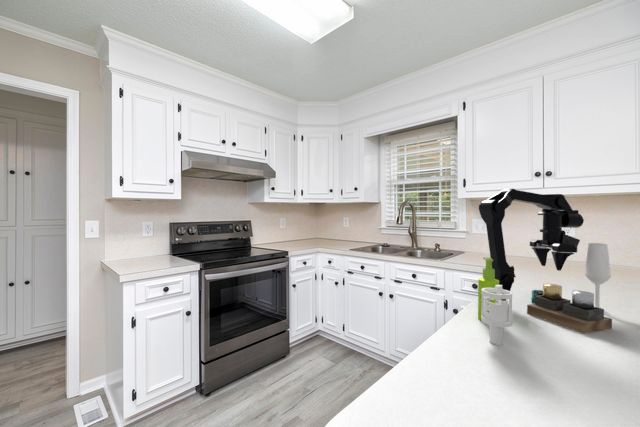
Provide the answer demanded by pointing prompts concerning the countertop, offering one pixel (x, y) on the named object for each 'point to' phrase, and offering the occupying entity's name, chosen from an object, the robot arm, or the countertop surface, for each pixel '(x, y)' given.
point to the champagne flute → (598, 268)
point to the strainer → (496, 312)
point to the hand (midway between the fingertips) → (550, 268)
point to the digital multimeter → (536, 294)
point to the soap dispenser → (486, 283)
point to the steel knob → (583, 299)
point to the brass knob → (552, 291)
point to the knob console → (569, 314)
